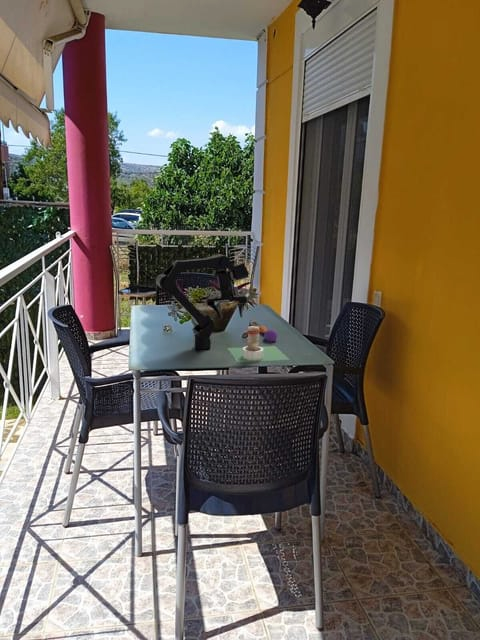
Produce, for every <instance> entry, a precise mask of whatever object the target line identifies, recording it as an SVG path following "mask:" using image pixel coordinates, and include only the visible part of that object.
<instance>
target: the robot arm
mask: <svg viewBox="0 0 480 640" xmlns="http://www.w3.org/2000/svg"><path fill="white" fill-rule="evenodd" d="M200 269H214V270H213V272H212V273H211V276H213V277H216V279H217V282H218V283H217V284H218V290H217V291H219V293H220V296H219V295H210V296H209V297H208V298H207V299H206V302H205V303H206V306H207V307H210V308H212V310H214V312H215V313H216V314H217V315H218V317H219V318H220V319H221V320H222V319H224V318H223V317H224V316H223V312H222V308H221V307H222V306H221V303H225V302H238V304H237V307H238V312H239V316H240V317H239V318H243V315H244V310H245V305H246V304H247V303H248V302H250V300H251V299H252V297H251V294H250V293H249V292H247V293H246V292H243V293H240V294H239V287H238V286H234V283H233V281H235V282H237V281H241V280H244V279H248V278H249V271H248V268H247V266H246V264H245V262H240V263H238V264H233V263H231V262H230V259H229V257H228V256H226V255H224V254H219V253H218V254H214V255H210V256H209V257H203V258H196V259H195V258H194V259H184V260H177V259H176V260H174V261H173V262H172V264H171V265H170V266H169V267H167V268H166V269H165V270H164V271H163V272H162V273H161V274H158V276H157V277H156V284H157V286H158V287H159V288H161V289H162V290H164V292H165V293H168V294H169V295H170V296H172V298H173V299H174V300H175V301H176V302H177V303H178V304H179V305H180V306H181V307H182V308H183V309H184V310H185V311H186V312H187V313H188V314H189V316H191V317H192V319H193V320H194V323H195V324H196V325H194V326H193V328H192V332H193V346H192V348H193V349H194V350H193V351H194V352H201V351H202V352H204V351H211V344H212V343H211V335H212V333H213V332H214V330H215V328H216V324H215V323H214V322H215V321H214V319H212V318H211V316H210V314H208V313H206V312H205V311H203V312H201V311H199V309H197V308H196V306H195V305H194V304H193V303H192V302H191V300H189V299H188V298H187V297H186V296H185V295H184V294H183V292H182V291H181V290H180V288H179V287H178V285H177V284H176V280H178V278H179V276H180V274H181V272H182V271H190V270H200ZM226 269H227V270H226ZM232 280H233V281H232ZM237 295H238V296H237Z"/></svg>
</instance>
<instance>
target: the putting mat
mask: <svg viewBox="0 0 480 640" xmlns="http://www.w3.org/2000/svg"><path fill="white" fill-rule="evenodd" d="M261 347H262V348H263V349H264V353H263V358H262V359H260V360H247V359H244V358H243V357H242V350H243V347H227V351H229V353H230V355H231V356H232V357H233V358H234V360H235V361H236V363H252V362H253V363H254V362H269V361H270V362H271V361H272V362H273V361H275V362H276V361H289V360H290V361H291V359H290V358H289V357H287V355H286V354H284V353H283V352H282V351H281V350H280V349H279V348H278V347H277V346H275V345H271V346H270V345H269V346H261Z"/></svg>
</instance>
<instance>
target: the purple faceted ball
mask: <svg viewBox="0 0 480 640" xmlns="http://www.w3.org/2000/svg"><path fill="white" fill-rule="evenodd" d="M258 327H259V326H258ZM259 333H262V334H264V335H263V338H264V340H266V342H268V343H269V342H270V343H271V342H275V341H276V340H277V338H278V333H277V331H275V329H271V328H270V329H267V328H266V327H265V325H260V327H259Z"/></svg>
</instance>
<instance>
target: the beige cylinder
mask: <svg viewBox="0 0 480 640" xmlns="http://www.w3.org/2000/svg"><path fill="white" fill-rule="evenodd" d="M259 341H260V331H259V326H256V325H251V326H248V328H247V346H248V351H258V346H259V343H260V342H259Z"/></svg>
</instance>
